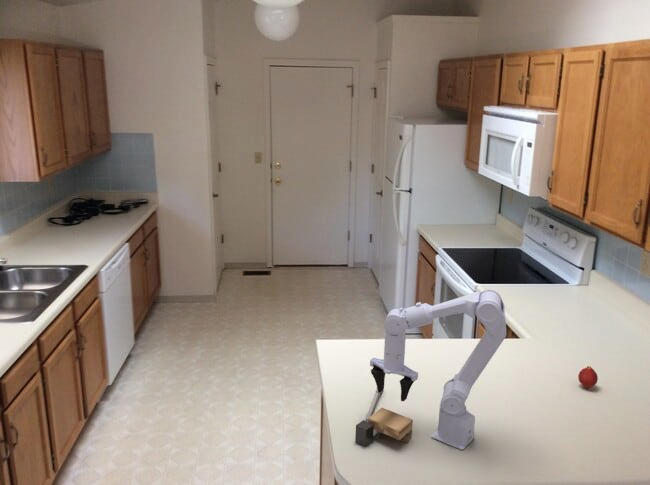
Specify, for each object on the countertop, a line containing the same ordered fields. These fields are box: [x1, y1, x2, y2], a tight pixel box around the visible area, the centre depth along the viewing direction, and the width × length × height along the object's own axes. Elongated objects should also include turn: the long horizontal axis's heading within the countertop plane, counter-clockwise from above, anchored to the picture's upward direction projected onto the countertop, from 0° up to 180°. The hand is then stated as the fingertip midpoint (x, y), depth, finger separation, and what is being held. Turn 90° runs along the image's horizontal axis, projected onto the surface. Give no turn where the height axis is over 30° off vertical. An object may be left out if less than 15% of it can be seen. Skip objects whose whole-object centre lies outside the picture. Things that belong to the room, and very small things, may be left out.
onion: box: [577, 365, 599, 389], centre depth 190 cm, size 6×6×8 cm
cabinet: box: [368, 407, 414, 444], centre depth 161 cm, size 10×7×6 cm
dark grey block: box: [354, 419, 382, 449], centre depth 160 cm, size 8×4×6 cm, turn 139°
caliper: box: [365, 388, 384, 422], centre depth 177 cm, size 20×1×6 cm, turn 162°
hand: (392, 395), depth 165 cm, fingers open, 7 cm apart
